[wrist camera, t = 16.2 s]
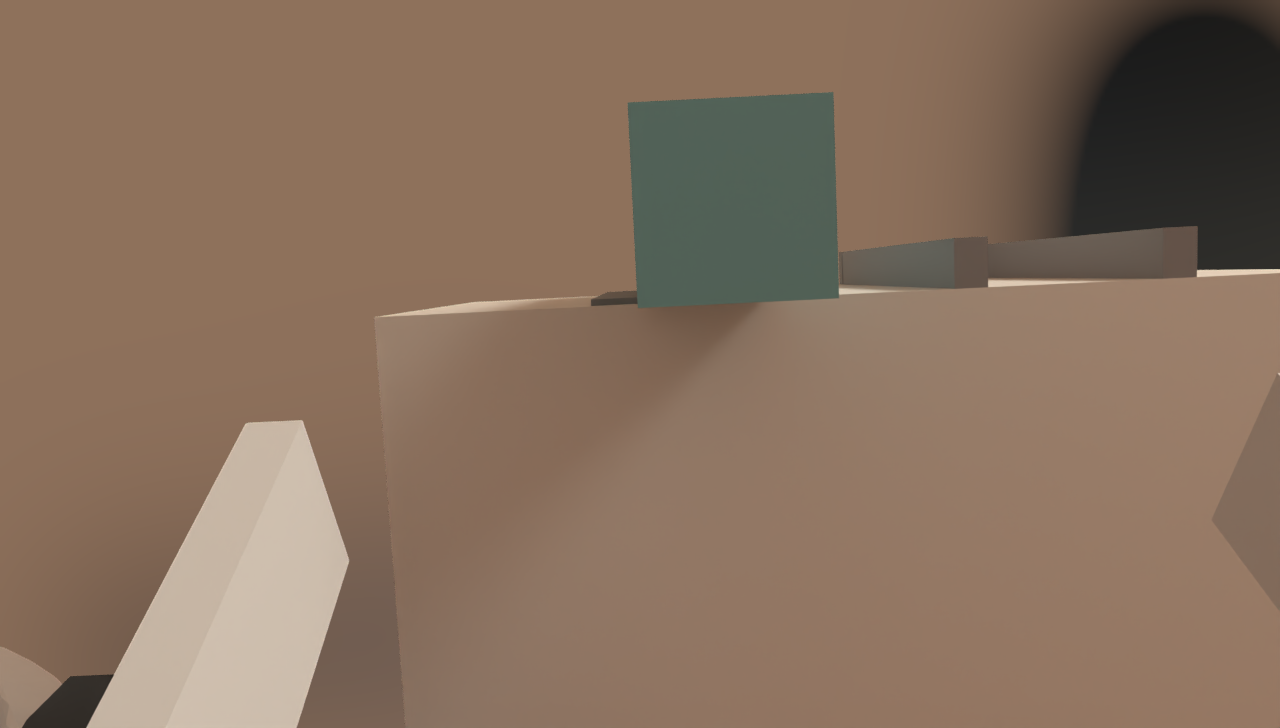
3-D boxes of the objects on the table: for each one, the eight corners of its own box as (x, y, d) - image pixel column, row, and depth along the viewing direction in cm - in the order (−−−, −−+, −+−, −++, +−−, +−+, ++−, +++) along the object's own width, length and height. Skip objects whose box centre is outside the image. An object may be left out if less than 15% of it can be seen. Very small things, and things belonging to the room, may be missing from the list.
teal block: (838, 298, 18) (833, 92, 18) (637, 308, 18) (627, 102, 18) (726, 286, 42) (723, 198, 42) (640, 290, 42) (635, 202, 42)
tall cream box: (1351, 1239, 30) (1380, 217, 27) (447, 1274, 30) (370, 266, 27) (1106, 905, 46) (1106, 239, 43) (515, 931, 46) (471, 270, 43)
